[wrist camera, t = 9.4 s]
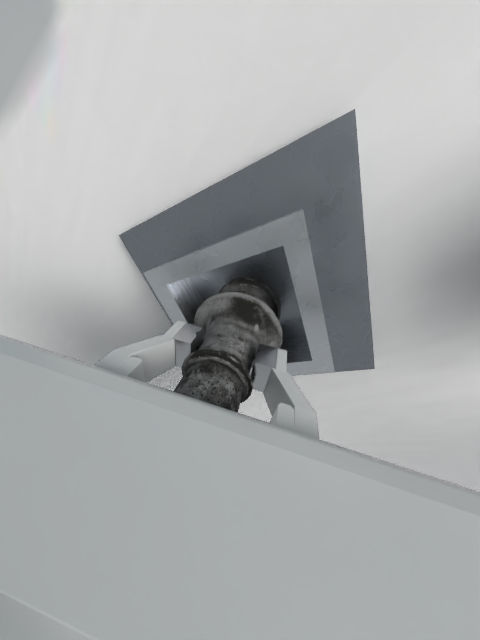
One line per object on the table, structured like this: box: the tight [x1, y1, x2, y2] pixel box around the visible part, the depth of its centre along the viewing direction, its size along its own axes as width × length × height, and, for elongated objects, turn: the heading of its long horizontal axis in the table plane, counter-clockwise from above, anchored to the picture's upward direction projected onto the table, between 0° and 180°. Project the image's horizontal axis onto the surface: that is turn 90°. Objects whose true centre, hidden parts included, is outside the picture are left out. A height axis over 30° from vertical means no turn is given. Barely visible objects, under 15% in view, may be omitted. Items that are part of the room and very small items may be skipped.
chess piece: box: [174, 278, 282, 412], centre depth 10 cm, size 6×6×12 cm
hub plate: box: [119, 109, 375, 376], centre depth 14 cm, size 16×16×4 cm
